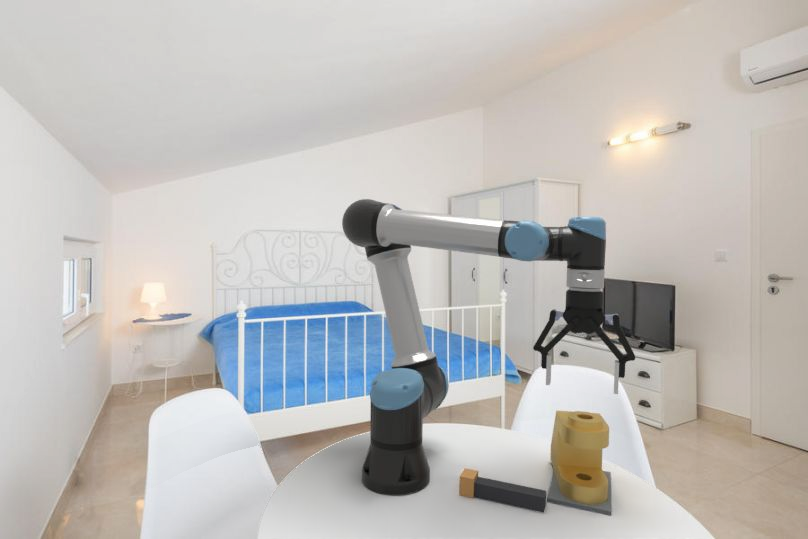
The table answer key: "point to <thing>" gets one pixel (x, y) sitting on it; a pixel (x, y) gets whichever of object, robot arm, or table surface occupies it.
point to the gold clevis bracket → (580, 456)
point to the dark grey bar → (501, 491)
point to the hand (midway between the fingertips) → (581, 388)
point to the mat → (560, 499)
